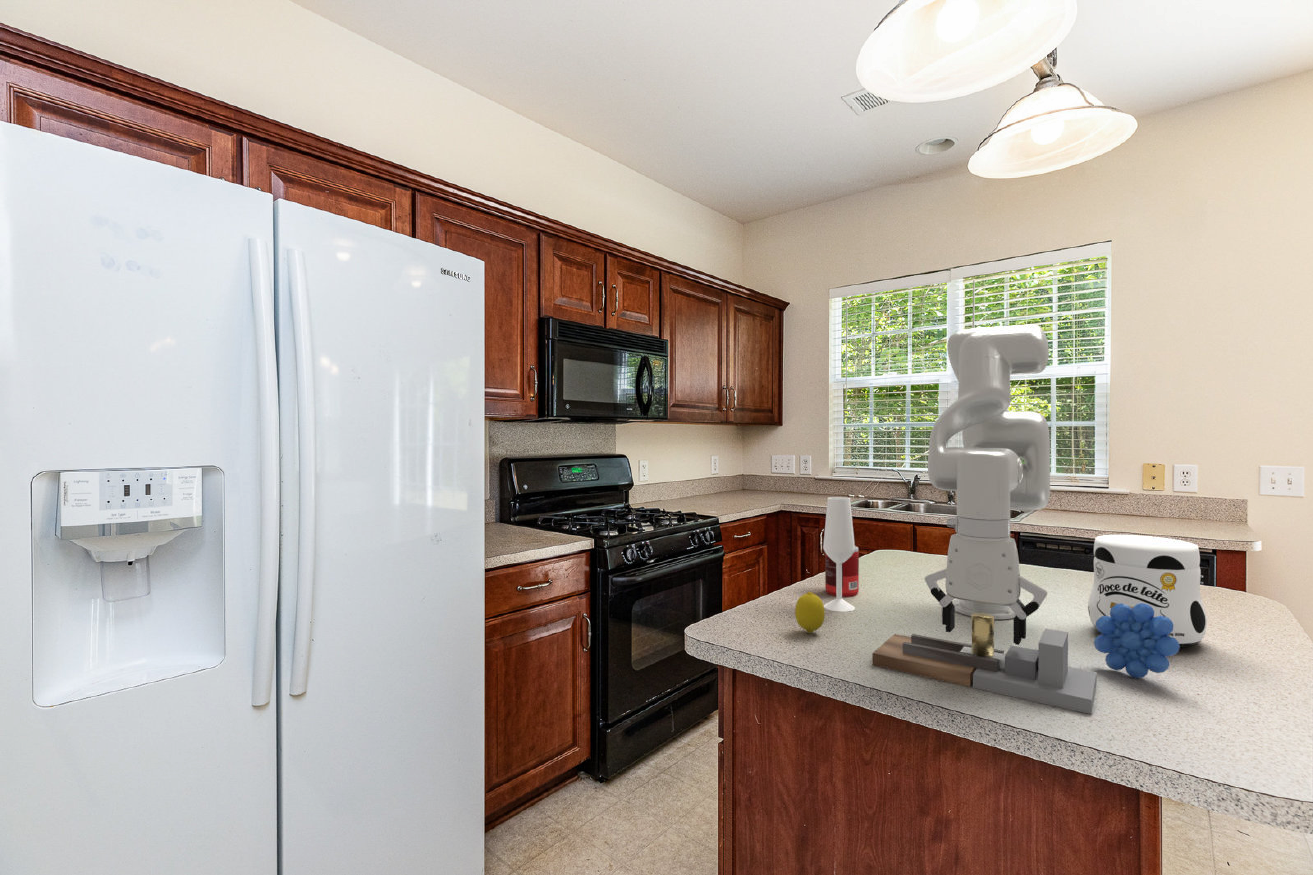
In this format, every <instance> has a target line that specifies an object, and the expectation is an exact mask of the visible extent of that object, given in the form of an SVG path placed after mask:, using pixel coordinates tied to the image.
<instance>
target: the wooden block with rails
mask: <svg viewBox="0 0 1313 875" xmlns="http://www.w3.org/2000/svg"><path fill="white" fill-rule="evenodd" d="M964 646H965V647H970V648H972V644H970V643H969V644H968V643H964V642H959V641H955V640H954V641H952V640H949V639H943V638H938V637H931V636H927V635H921V634H917V633H912V634H911V635H910V636H907V635H902V634H897V633H894V634H893V635H892V636H890V637H889V638H888V639H886V640H885V641H884V643H882V644H881V645H880V646H879V647H878V648H876V650H873V652H872V653H871V654H872V658H871V659H872V660H871V661H872V666H874V667H875V666H876V667H880V668H884V669H888V670H893V671H897V672H902V673H905V674H906V673H907V674H911V675H915V676H920V677H925V678H928V679H934V680H937V681H942V682H946V683H949V684H950V683H951V684H955V685H959V686H964V687H968V688H970V687H971V686H973V674H974V672H975V671H976V669H977V668H978V669H982V670H987V671H992V672H998V660H995V659H990V658H985V657H980V656H975V655H969V654H964V653H960V651H961V650H962V649H963V647H964ZM994 652H997V653H1002V654H1005V651H1004V650H1001V649H996V648H994Z"/></svg>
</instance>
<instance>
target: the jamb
mask: <svg viewBox="0 0 1313 875" xmlns="http://www.w3.org/2000/svg"><path fill="white" fill-rule="evenodd" d="M1068 656H1069V632H1068V631H1062V630H1056V629H1051V628H1050V629H1049V628H1044V629H1043V632H1042V634H1041V636H1040V639H1039V641H1038V649H1034V648H1029V647H1028V648H1027V647H1023V646H1019V645H1017V646H1016V645H1010V647H1009V648H1008V650H1007V652H1006V655H1005V670H1002V669H998V672H992V671H987V670H982V669H978V668H977V669H976V671H975V672H974V674H973V683H972V688H974V689H978V690H981V691H982V690H983V691H985V692H986V691H987V692H990V693H994V694H995V693H996V694H1000V695H1005V696H1009V697H1014V698H1018V699H1022V700H1027V701H1031V702H1036V703H1039V704H1043V705H1044V704H1045V705H1049V706H1053V707H1057V708H1062V709H1067V710H1071V711H1076V712H1080V713H1085V714H1088V715H1089V714H1090V715H1093V711H1094V710H1093V708H1094V702H1095V695H1096V691H1097V672H1096V671H1093V670H1092V671H1091V670H1087V669H1081V668H1076V667H1071V666H1068V665H1069V663H1068V662H1069V657H1068Z"/></svg>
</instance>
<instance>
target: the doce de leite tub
mask: <svg viewBox="0 0 1313 875" xmlns="http://www.w3.org/2000/svg"><path fill="white" fill-rule="evenodd" d="M1093 556H1094V558H1093V584H1092V588H1091V590H1090V593H1089V597H1088V602H1087V610H1088V615H1089V618H1090V622H1091V624H1092V626H1094V627H1095V628H1096V621H1097V620H1098V619H1099V618H1100V617H1102V616H1109V617H1111V616H1110V610H1111V608H1112V607H1113V606H1115V605H1116V604H1120V603H1121V604H1125V605H1128V606H1129V607H1130V608H1131V610H1132V608H1133V607H1134V606H1135V605H1137V604H1140V603H1144V604H1148V605H1150V606H1151V607H1152V608H1153V610H1154V613H1155V614H1154V617H1156V616H1164V617H1167V618H1169V619H1170V620H1171V621H1172V623H1173V626H1174V627H1173V631H1172V632H1171V633H1170V634H1168V635H1167V636H1170V637H1173V638H1175V639H1176V640H1177V641H1178V643H1179V645H1180V648H1183V647H1191V646H1193V645H1197V644H1198V643H1199V644H1200V642H1202V641H1203V639H1204V637H1205V634H1206V630H1207V626H1208V625H1207V624H1208V619H1207V614H1206V613H1207V612H1206V609H1205V606H1204V603H1203V600H1202V596H1201V576H1202V575H1201V573H1202V572H1201V570H1202V569H1201V567H1200V564H1201V556H1200V549H1199V545H1198V544H1195V543H1193V542H1189V541H1187V540H1186V541H1184V540H1180V539H1173V538H1167V537H1160V536H1159V537H1158V536H1151V535H1137V534H1136V535H1135V534H1134V535H1133V534H1104V535H1098V536H1096V537H1095V538H1094V543H1093Z"/></svg>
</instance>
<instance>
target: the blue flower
mask: <svg viewBox="0 0 1313 875" xmlns="http://www.w3.org/2000/svg"><path fill="white" fill-rule="evenodd" d="M1154 614H1155V613H1154V610H1153V608H1152V607H1151V606H1150V605H1148V604H1144V603H1140V604H1137V605H1135V606H1134V607H1133V608H1132V610H1131V608H1130V607H1129V606H1128V605H1125V604H1121V603H1120V604H1116V605H1115V606H1113V607H1112V608H1111V610H1110V616H1111V617H1109V616H1102V617H1100V618H1099V619H1098V620H1097V621H1096V627H1095V629H1096V630H1097V631H1098V632H1099V633H1100V634H1098V636H1097V637H1095V638H1094V641H1093V644H1094V646H1093V647H1095V649H1096V650H1097V651H1098V652H1099V653H1102V654H1106V655H1105V659H1104V660H1105V664H1106V665H1107V667H1109V668H1110V669H1111V670H1114V671H1121V670H1123V669H1125V672H1126V674H1127V675H1129V676H1130V677H1131V678H1135V679H1142V678H1145V677H1146V676H1147V675H1148V674H1149V671H1150V672H1152V673H1156V674H1162V673H1165V672H1166V671H1167V670H1168V669H1170V668H1169V667H1170V660H1169V658H1168V657H1173V656H1174V655H1176V654H1177V653H1179V652H1180V648H1181V647H1180V645H1179V643H1178V641H1177V640H1176V639H1175V638H1173V637H1170V636H1167V635H1168V634H1170V633H1171V632H1172V631H1173V627H1174V626H1173V623H1172V621H1171V620H1170V619H1169V618H1167V617H1164V616H1156V617H1154Z"/></svg>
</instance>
